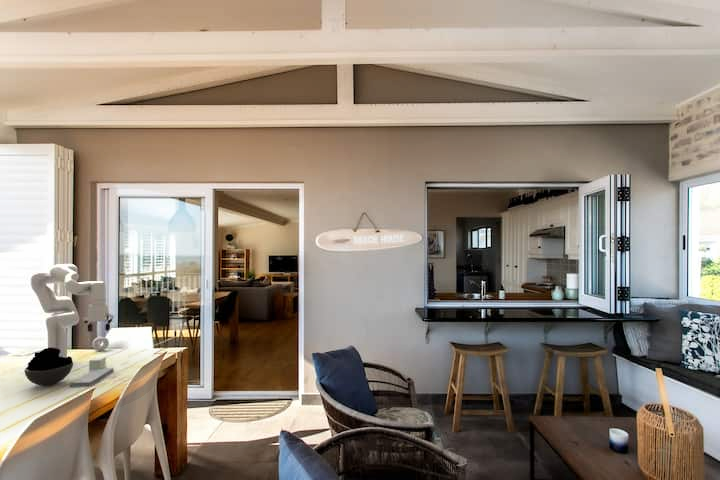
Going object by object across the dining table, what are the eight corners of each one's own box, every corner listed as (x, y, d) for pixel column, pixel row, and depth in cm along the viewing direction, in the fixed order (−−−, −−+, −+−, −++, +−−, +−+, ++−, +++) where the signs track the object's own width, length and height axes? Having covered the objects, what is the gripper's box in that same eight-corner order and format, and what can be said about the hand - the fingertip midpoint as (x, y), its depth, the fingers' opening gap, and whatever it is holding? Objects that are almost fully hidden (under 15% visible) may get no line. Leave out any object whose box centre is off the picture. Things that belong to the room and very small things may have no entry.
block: (89, 370, 226) (89, 360, 226) (94, 367, 232) (94, 357, 232) (100, 370, 227) (100, 360, 227) (105, 367, 233) (105, 357, 233)
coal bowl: (67, 375, 217) (67, 342, 218) (78, 383, 205) (78, 347, 205) (20, 385, 202) (20, 349, 202) (29, 394, 189) (29, 356, 190)
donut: (109, 349, 274) (109, 335, 275) (108, 350, 271) (108, 336, 271) (92, 351, 270) (92, 336, 270) (91, 352, 267) (91, 337, 267)
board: (69, 387, 199) (69, 383, 199) (94, 372, 223) (94, 368, 223) (90, 385, 201) (90, 382, 201) (113, 371, 224) (113, 367, 224)
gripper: (79, 303, 227) (79, 333, 227) (110, 302, 229) (110, 331, 228) (86, 302, 235) (87, 330, 234) (116, 300, 236) (117, 328, 236)
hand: (98, 330), depth 231 cm, fingers open, 9 cm apart
